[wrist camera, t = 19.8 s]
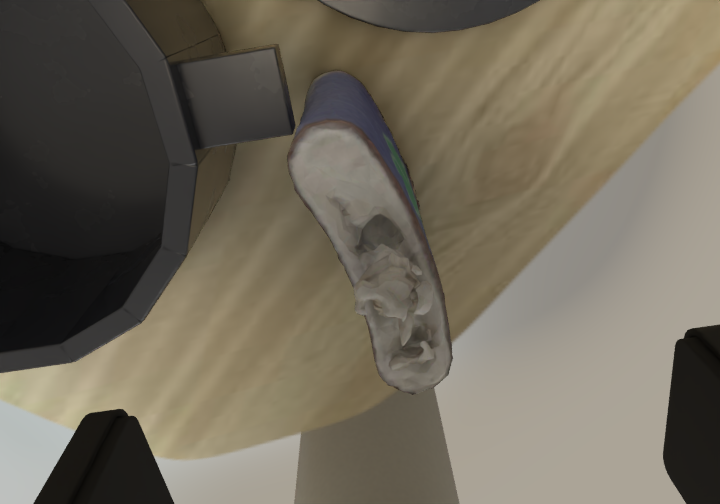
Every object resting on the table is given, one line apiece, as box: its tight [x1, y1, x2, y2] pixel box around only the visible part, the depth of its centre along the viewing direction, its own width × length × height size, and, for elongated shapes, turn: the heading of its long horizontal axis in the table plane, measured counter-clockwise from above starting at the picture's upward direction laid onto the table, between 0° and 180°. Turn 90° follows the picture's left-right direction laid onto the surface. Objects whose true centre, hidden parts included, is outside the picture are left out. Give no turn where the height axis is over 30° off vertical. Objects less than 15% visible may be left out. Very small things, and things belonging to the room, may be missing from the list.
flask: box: [287, 70, 453, 395], centre depth 19 cm, size 9×3×11 cm, turn 21°
